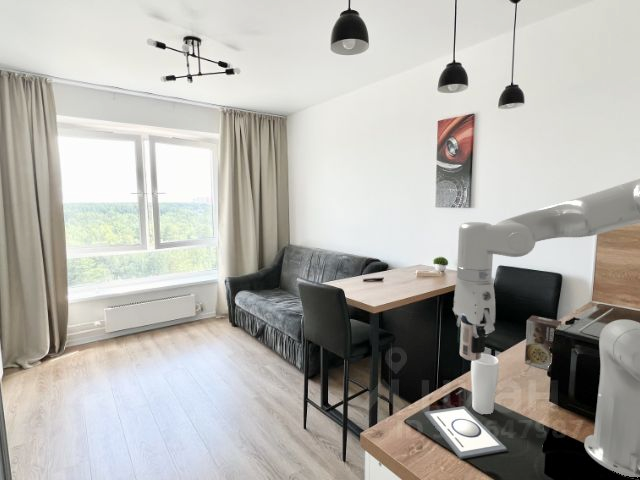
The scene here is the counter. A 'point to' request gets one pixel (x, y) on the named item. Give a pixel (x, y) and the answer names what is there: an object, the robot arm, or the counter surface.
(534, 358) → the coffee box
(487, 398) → the drinking glass
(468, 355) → the beer can
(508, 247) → the robot arm
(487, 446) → the tablet
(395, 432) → the counter surface
